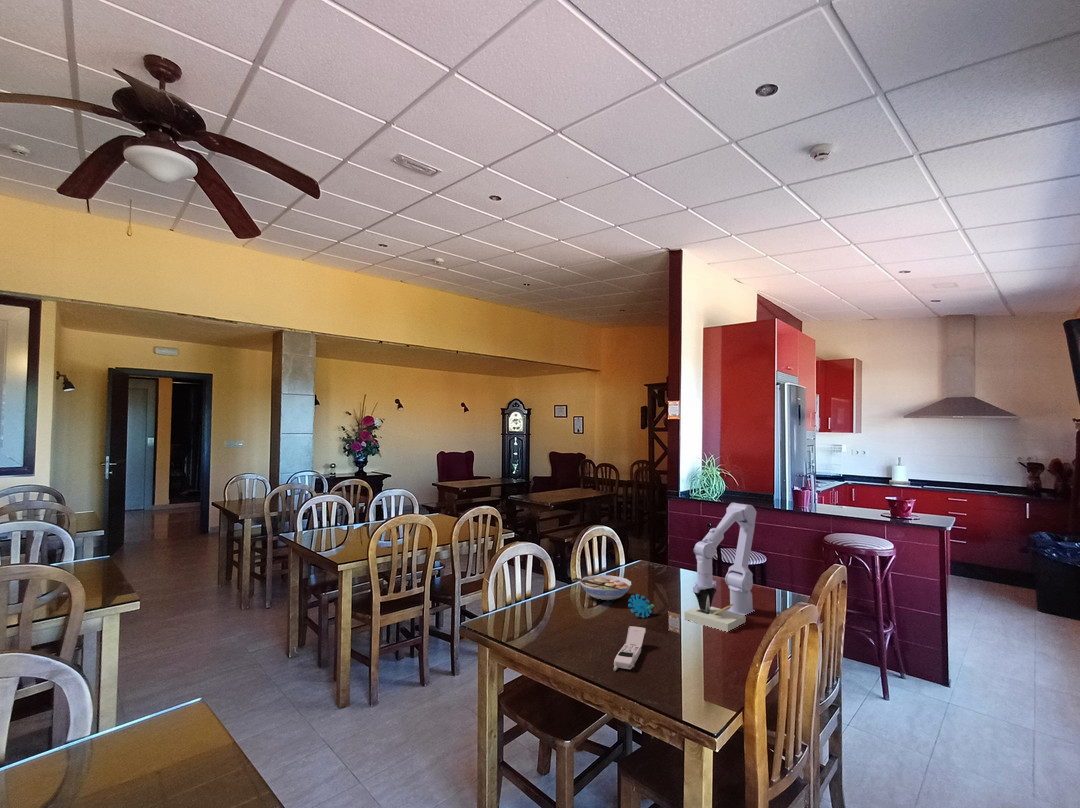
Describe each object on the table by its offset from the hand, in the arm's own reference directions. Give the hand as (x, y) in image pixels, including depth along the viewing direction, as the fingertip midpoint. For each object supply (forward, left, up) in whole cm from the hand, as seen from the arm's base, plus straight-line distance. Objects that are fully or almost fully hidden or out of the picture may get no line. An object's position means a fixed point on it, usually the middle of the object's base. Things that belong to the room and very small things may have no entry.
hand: (705, 607), depth 203 cm
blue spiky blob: (+16, -19, -5) cm, 25 cm away
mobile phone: (+51, +2, -5) cm, 51 cm away
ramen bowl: (+10, -43, -4) cm, 44 cm away
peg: (0, 0, -2) cm, 2 cm away
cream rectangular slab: (0, +4, -4) cm, 6 cm away
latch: (0, +8, +1) cm, 8 cm away
